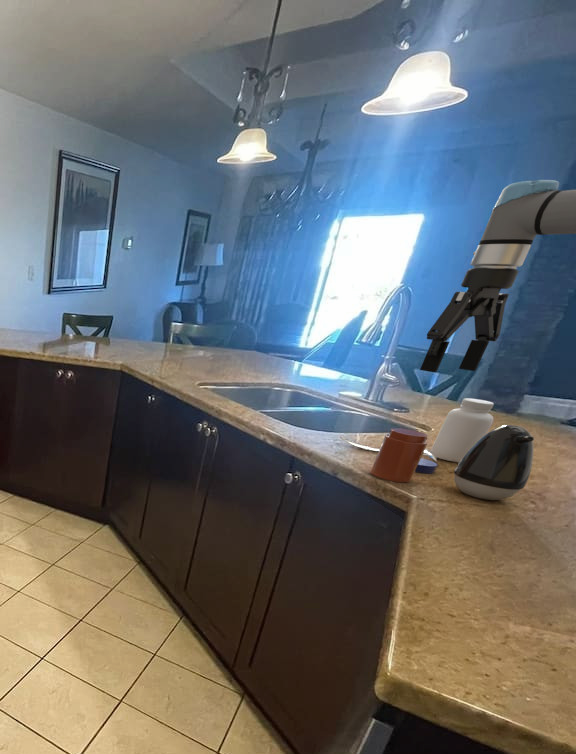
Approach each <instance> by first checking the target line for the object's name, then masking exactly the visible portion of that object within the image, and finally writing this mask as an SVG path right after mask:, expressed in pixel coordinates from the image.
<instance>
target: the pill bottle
mask: <svg viewBox="0 0 576 754" xmlns="http://www.w3.org/2000/svg"><path fill="white" fill-rule="evenodd" d="M494 405H495V403H494V402H492V401H489V400H484V399H479V398H470V397H469V398H468V397H466V398H463V399H462V401H461V402H460V405H459V408H454V409H451V410H450V411H449V412H448V413H447V415H446V417H445V420H444V421H443V424H442V425H441V428H440V430H439V431H438V434H437V435H436V438H435V440H434V442H433V444H432V446H431V448H430V450H431V451H432V452H433V453H434V454H435V456H436V458H437V459H440V460H442V461H443V460H444V461H448V462H453V463H457V464H459V462H460V461H461V459H462V458H463V457H464V456H465V454H466V453H467V452H468V451H469V450H470V449H471V448H472V447H473V446H474V445H475V444H476V443H477V442H478V441H479V440H480V439H481V438H482V437H484V436H485V435H486V434H488V433H489V431H490V429H491V427H492V424H493V423H494V416H493V415H492V414H490V413H489V412H491V410H492V409H493V408H494Z"/></svg>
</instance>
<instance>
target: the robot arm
mask: <svg viewBox="0 0 576 754" xmlns="http://www.w3.org/2000/svg"><path fill="white" fill-rule="evenodd" d="M559 187H560V182H559V181H558V180H554V179H539V180H524V181H523V180H522V181H518V182H513V183H511V184H508V185H507V186H505V187H504V188H503V189H502V191H501V192H500V195H499V197H498V199H497V200H496V203H495V204H494V207H492V209H491V215H490V217H489V219H488V221H487V224H486V226H485V228H484V231H483V234H482V236H481V239H480V241H479V243H478V245H477V247H476V250H475V251H473V253H472V255H473V257H472V259H471V261H470V263H469V264H470V266H471V267H472V268H469V269H468V270H466V272H465V274H464V277H463V279H462V281H461V284H460V286H461V287H462V288H466V291H455V292H454V294H453V295H452V297H451V300H450V301H449V303H448V304H447V306H446V307H445V309H444V310H443V311H442V313H441V314H440V316H439V317H438V318H437V319H436V320H435V322H434V324H432V326H431V328H430V329H429V330H428V332H427V333H426V339H427V340H431V343H430V345H429V347H428V348H427V349H428V350H427V352H426V355H425V357H424V359H423V361H422V364H421V366H420V368H419V371H423V372H430V373H437V372H438V370H439V367H440V365H441V363H442V362H443V358H444V356H445V354H446V351H447V349H448V348H449V345H450V341H448V340H449V339H451V337H452V336H453V335H454V334H455V333H456V332H457V331H458V330H459V329H460V328H461V326H463V324H464V323H466V321H467V320H468V319H470V318H473V317H474V333H475V335H474V336H475V339H471V341H470V343H469V345H468V348H467V350H466V352H465V353H464V355H463V358H462V360H461V363H460V364H459V367H458V370H464V371H471V372H476V371H477V369H478V366H479V365H480V362H481V361H482V358H483V356H484V354H485V351H486V350H487V347H488V345H489V343H490V342H497V340H498V338H499V337H500V335H501V329H502V324H503V319H504V313H505V309H506V308H505V307H506V303H507V301H508V298H509V296H510V294H509V293H504V292H503V293H500V291H501V290H508V289H510V288H512V287H513V285H514V283H515V281H516V279H517V276H518V274H519V273H520V271H519V270H518V269H517V268H518V267H519V268H520V267H521V266H523V264H524V262H525V260H526V258H527V256H528V253H529V252H530V249H531V246H532V244H533V243H534V240H535V238H536V237H537V236H547V235H576V189H567V190H566V189H565V190H560V189H559Z"/></svg>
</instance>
